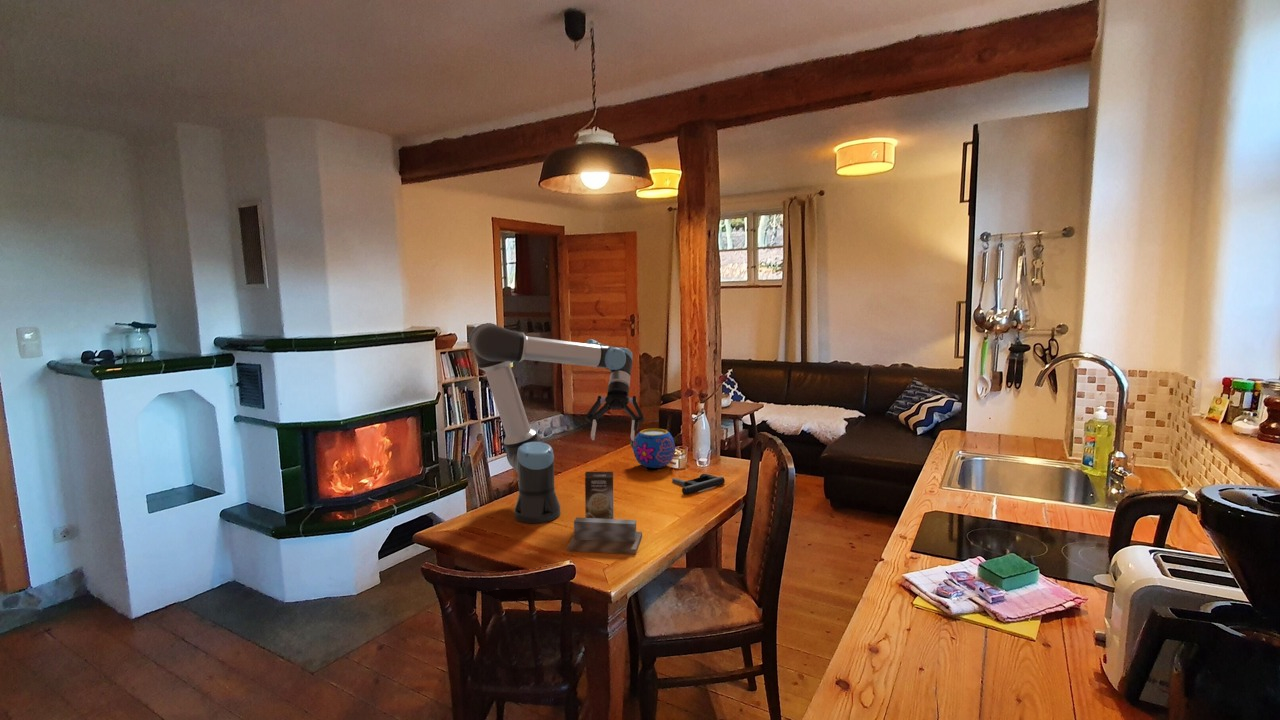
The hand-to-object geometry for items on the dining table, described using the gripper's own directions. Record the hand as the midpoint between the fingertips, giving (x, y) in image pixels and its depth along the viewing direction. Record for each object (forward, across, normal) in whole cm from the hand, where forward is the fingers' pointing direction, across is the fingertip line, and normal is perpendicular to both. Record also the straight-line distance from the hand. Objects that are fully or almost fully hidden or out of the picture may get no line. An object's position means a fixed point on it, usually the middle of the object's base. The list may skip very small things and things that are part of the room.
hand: (612, 438), depth 201 cm
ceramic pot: (-16, -8, -51) cm, 54 cm away
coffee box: (+27, +2, -8) cm, 28 cm away
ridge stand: (+37, -3, +3) cm, 37 cm away
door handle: (0, -26, -36) cm, 44 cm away
